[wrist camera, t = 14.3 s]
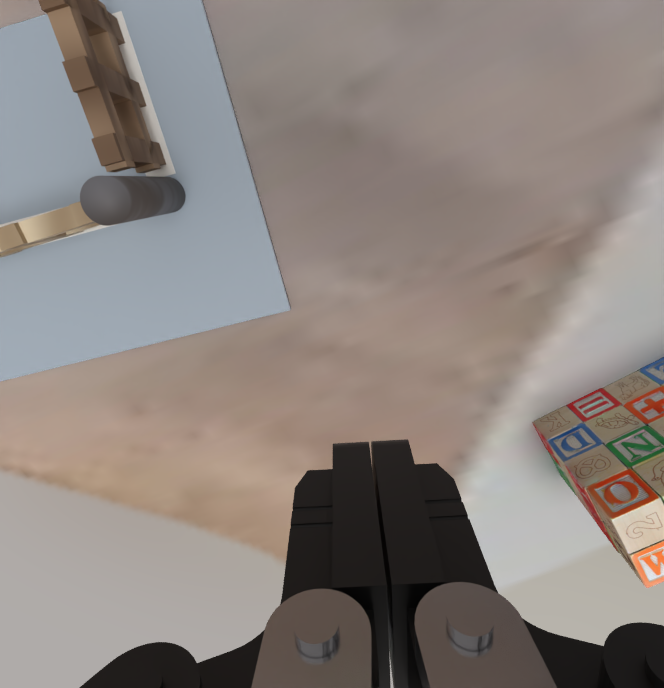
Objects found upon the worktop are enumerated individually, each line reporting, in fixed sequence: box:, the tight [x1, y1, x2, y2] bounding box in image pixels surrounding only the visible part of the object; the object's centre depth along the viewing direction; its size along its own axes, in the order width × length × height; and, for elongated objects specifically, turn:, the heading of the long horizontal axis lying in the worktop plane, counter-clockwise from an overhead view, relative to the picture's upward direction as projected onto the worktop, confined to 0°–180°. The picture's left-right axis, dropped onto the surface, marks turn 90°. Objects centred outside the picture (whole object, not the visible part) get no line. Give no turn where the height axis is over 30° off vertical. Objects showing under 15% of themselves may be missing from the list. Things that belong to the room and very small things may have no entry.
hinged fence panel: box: [0, 201, 100, 258], centre depth 31 cm, size 16×1×7 cm, turn 107°
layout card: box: [0, 0, 291, 381], centre depth 34 cm, size 22×24×1 cm
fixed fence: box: [39, 0, 186, 226], centre depth 27 cm, size 12×2×10 cm, turn 14°
